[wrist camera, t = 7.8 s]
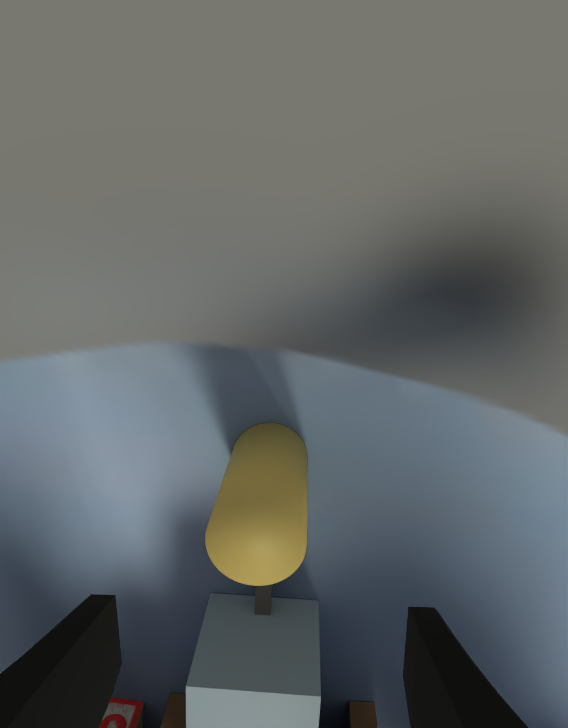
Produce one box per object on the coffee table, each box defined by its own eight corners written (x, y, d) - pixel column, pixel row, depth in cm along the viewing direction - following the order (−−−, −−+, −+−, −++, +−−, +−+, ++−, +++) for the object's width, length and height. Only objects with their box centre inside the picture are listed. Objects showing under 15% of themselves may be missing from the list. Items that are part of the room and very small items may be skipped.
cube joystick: (331, 426, 22) (339, 502, 16) (312, 686, 25) (313, 825, 19) (211, 419, 22) (176, 491, 16) (210, 679, 25) (180, 814, 20)
